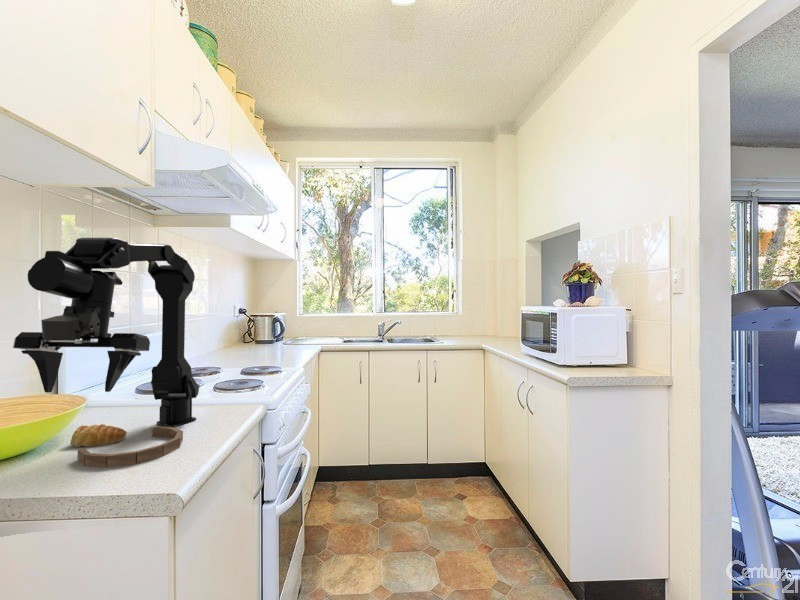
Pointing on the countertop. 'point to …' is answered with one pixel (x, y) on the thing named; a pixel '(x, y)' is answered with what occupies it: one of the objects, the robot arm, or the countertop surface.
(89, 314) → the robot arm
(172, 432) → the walnut open arc
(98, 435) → the pastry
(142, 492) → the countertop surface
